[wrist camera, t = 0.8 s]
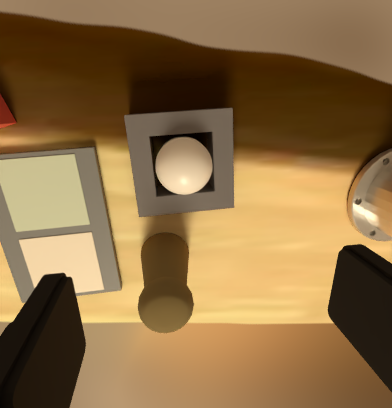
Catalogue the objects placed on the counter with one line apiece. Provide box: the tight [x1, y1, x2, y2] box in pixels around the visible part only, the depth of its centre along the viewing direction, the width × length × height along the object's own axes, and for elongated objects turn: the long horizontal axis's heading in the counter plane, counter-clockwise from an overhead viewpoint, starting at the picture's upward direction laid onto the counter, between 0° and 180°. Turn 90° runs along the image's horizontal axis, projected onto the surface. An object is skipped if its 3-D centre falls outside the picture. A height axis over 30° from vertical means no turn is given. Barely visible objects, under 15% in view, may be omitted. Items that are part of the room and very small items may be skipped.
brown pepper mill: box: [138, 233, 194, 333], centre depth 29 cm, size 6×6×11 cm
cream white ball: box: [156, 136, 212, 195], centre depth 26 cm, size 5×5×5 cm
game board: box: [0, 147, 122, 303], centre depth 31 cm, size 12×18×1 cm, turn 4°
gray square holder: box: [124, 108, 234, 217], centre depth 28 cm, size 10×10×4 cm
